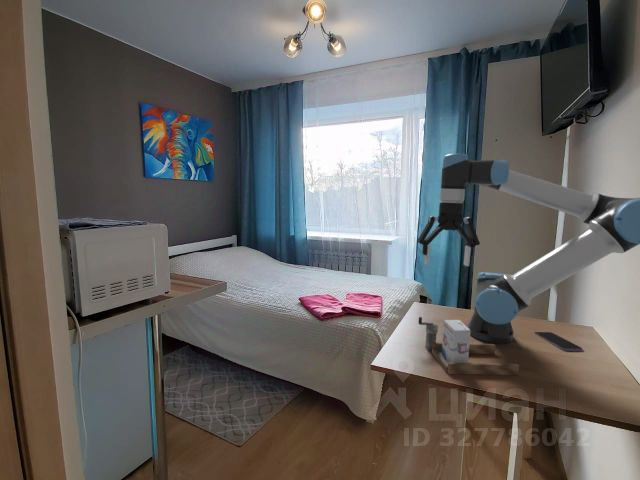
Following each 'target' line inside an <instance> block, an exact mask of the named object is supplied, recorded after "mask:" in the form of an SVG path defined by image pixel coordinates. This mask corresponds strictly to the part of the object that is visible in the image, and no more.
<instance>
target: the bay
mask: <svg viewBox="0 0 640 480" xmlns="http://www.w3.org/2000/svg"><path fill="white" fill-rule="evenodd" d="M417 322H418V324H419V325H421V326H425V332H426V336H425V348H426V350H427V351H431V353H432V355H433V356H434V357H435V359H436V361H437V362H438V363H439V365H440V366H441V368H442V369H443V371H444V372H445V373H447V374H448V375H450V374H451V375H488V376H490V375H494V376H519V369H520V364H518V363H497V362H496V363H492V362H490V363H489V362H486V363H485V362H468V363H450V362H447V361H446V360H445V358H444V357H443V356H442V342H437V334H438V333H439V331H438V330H439V325H438V324H437V323H435V322H433V321H432V322H431V321H423V317H421V316H418V321H417ZM496 346H497V345H496V343H470V344H469V354H482V355H484V354H485V355H488V354H489V355H495V354H496Z"/></svg>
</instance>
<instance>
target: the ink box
mask: <svg viewBox="0 0 640 480" xmlns="http://www.w3.org/2000/svg"><path fill="white" fill-rule="evenodd" d="M470 332H471V331H470V329H469V328H468V325H467V326H466V324H465V323H463V321H462V320H460V319H444V320H443V327H442V342H441V343H442V356H443V357H444V358H445V360H446V361H447V362H450V363H469V358H470V357H469V354H470V353H469V344H471V342H470V341H471V335H470Z"/></svg>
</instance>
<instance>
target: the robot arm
mask: <svg viewBox="0 0 640 480" xmlns="http://www.w3.org/2000/svg"><path fill="white" fill-rule="evenodd" d="M440 181H441V182H440V194H439V197H440V198H439V201H440V202H439V206H438V207H439V208H438V216H433V215H429V216H428V219H427V220H428V221H427V223H426V225H425V227H424V228H423V230H422V232H421V233H420V236H419V237H418V239H417V241H416V242H417V243H419V244H421V245H422V251H421V253H422V255H423V256H424V261H423V263H424V265H426V266H430V255H431V245H429V244H430V243H431V242H432V241H433V240H434V239H435V238H436V237H437V236H438V235H439V234H440V233H441V232H443V231H457V233H458V234H459V235H460V237H461V238H462V239H463V241H464V242H465V243H466V245H464V257H463V266H465V267H470V263H471V262H470V261H471V259H470V258H471V257H473V255H474V248H475V247H476V246H480V243H481V242H480V240H479V238H478V237H479V236H478V234H477V233H476V229H475V228H474V225H473V218H472V217H470V216H466V217H464V216H463V215H464V207H465V206H464V205H465V204H464V203H463V202H464V201H465V194H466V185H480V186H484V187H488V188H490V189H494V190H496V191H500V192H504V193H506V194H508V195H512V196H514V197H518V198H521V199H524V200H527V201H530V202H532V203H536V204H538V205H541V206H544V207H547V208H549V209H553V210H556V211H559V212H561V213H565V214H567V215H570V216H573V217H577V218H578V219H579V222H582V223H584V224H587V225H588V228H587V229H585V230H583V231H582V232H580V233H579V234H578V235H576V236H574V237H572V238H571V239H569V240H567V241H565V242H564V243H563V244H561V245H559V246H558V247H556V248H554V249H552V250H551V251H549V252H548V253H546V254H544V255H543V256H541V257H540V258H538V259H537V260H535V261H533V262H531V263H530V264H528V265H527V266H525V267H523V268H522V269H520V270H518V271H517V272H515V273H514V274H507V273H506V274H505V273H497V272H486V271H480V272H479V273H477V278H476V287H475V288H476V289H475V298H474V308H473V309H474V310H473V313H472V315H471V317H470V319H469V322H467V323H468V324H467V327H468V328H469V329H470V331H471V332H470V337H473V338H474V339H478V340H480V341H482V342H483V341H484V342H487V343H490V344H499V345H500V344H509V343H510V344H511V343H512V342H513V341H514V335H515V334H514V329H513V326H512V321H513V320H514V319H515V318H516V317H517V315H518V313H519V312H521V311H522V310H524V309H526V308H528V307H530V306H531V302H532V299H533V298H534V297H536V296H538V295H540V294H541V293H543V292H545V291H547V290H549V289H550V288H552V287H554V286H556V285H558V284H560V283H561V282H563V281H565V280H566V279H567V278H568V279H569V278H570V277H571V276H573V275H575V274H576V273H578V272H580V271H583V270H584V269H586V268H587V267H589V266H591V265H592V264H595V263H596V262H598V261H600V260H602V259H604V258H605V257H607V256H608V255H610V254H612V253H613V254H614V253H616V254H624V253H626V252H628V251H630V250H631V249H633V248H635V247H637V246H639V245H640V197H634V198H633V197H632V198H631V197H616V196H615V197H614V196H608V195H604V194H601V193H597V192H596V193H593V194H589V193H586V192H582V191H579V190H576V189H573V188H570V187H566V186H563V185H560V184H558V183H555V182H551V181H548V180H545V179H541V178H538V177H535V176H532V175H527V174H524V173H522V172H518V171H515V170H511V169H510V162H509V161H508V160H505V159H504V160H503V159H489V160H488V159H486V160H482V159H481V160H471V159H469V155H468V154H466V153H449V154H445V155H444V157H443V161H442V167H441V179H440ZM437 222H438V223H437ZM435 223H437V226H436V227H435V228H434V229H433V230H432V227H433V226H434V224H435ZM463 223H464V224H465V227H466V229H467V232H468V234H469V235H468V234H467V233H466V231H465V229H464V228H463V227H462V224H463ZM431 230H432V232H431Z"/></svg>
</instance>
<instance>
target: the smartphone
mask: <svg viewBox="0 0 640 480" xmlns="http://www.w3.org/2000/svg"><path fill="white" fill-rule="evenodd" d="M534 333H535V335H536V336H537V337H539V338H541V339H543V340H545V341H546V342H547V343H549V344H551V345H553V346H554V347H556V348H557V349H559V350H562V351H565V352H583V351H584V349H583V347H581V346H579V345H577V344H575V343H573V342H571V341H569V340H567V339H566V338H564V337H561V336H560V335H558V334H555V333H554V332H552V331H535V332H534Z"/></svg>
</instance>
